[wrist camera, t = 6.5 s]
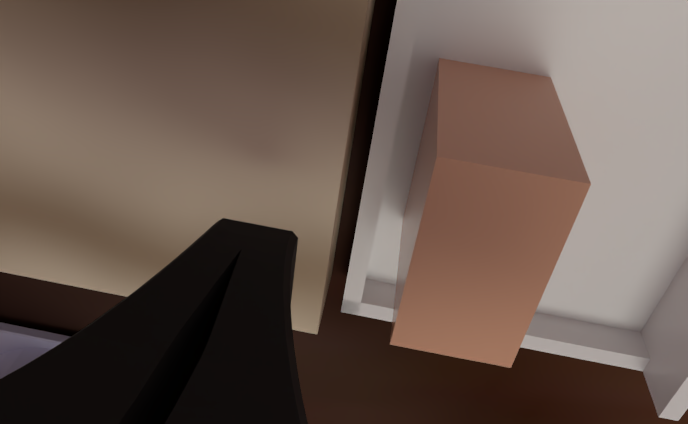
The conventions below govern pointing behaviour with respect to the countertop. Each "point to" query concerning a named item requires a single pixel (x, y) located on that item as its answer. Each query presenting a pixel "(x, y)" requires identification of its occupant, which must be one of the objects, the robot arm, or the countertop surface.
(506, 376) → the countertop surface
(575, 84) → the grey tray
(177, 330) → the robot arm
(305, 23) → the birch board
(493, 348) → the terracotta block
